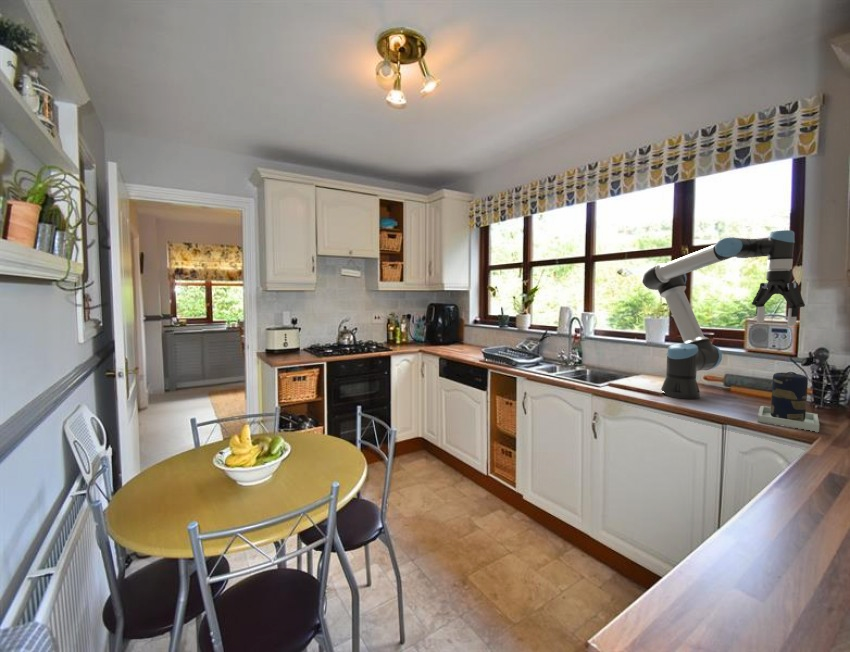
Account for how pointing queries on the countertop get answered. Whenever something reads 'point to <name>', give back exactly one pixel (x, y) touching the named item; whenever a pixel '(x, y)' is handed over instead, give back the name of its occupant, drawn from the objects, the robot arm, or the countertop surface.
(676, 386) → the robot arm
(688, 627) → the countertop surface
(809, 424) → the tray
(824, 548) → the countertop surface
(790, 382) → the canister
